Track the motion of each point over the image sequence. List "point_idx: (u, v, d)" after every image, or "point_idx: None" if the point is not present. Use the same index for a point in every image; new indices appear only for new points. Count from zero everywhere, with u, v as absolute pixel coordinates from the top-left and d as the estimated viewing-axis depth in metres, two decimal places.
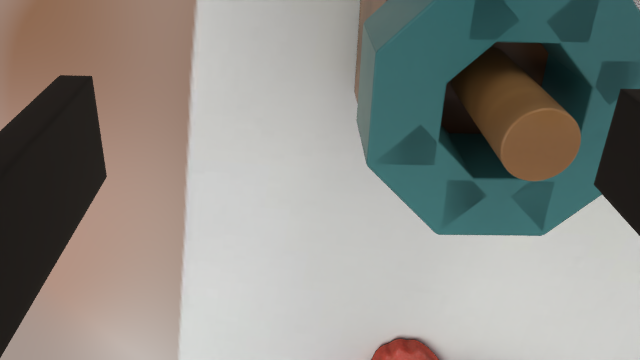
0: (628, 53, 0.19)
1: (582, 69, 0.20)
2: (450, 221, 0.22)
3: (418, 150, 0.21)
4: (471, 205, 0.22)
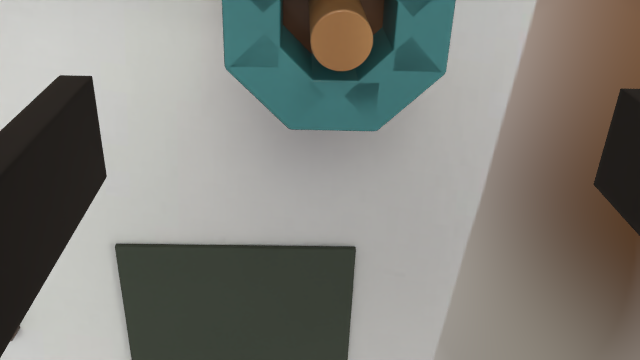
0: (383, 100, 0.27)
1: (372, 70, 0.26)
2: None
3: None
4: (253, 0, 0.25)
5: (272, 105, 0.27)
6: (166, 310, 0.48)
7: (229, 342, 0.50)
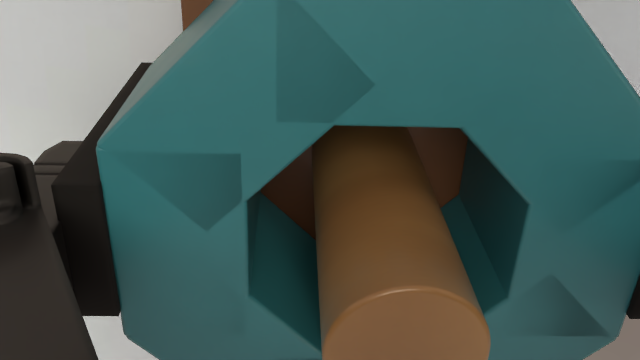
0: None
1: None
2: (135, 170, 0.10)
3: (313, 85, 0.09)
4: (181, 206, 0.10)
5: None
6: None
7: None
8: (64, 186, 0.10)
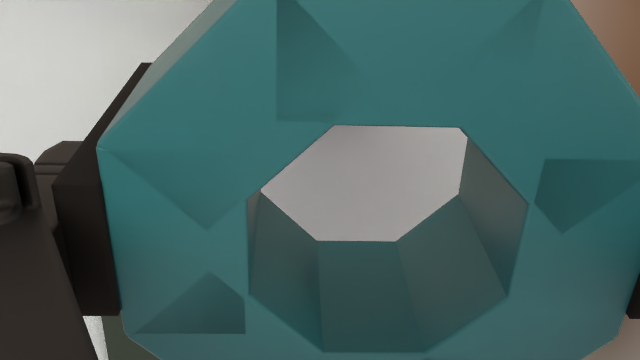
0: None
1: (458, 335, 0.12)
2: (135, 169, 0.10)
3: (313, 84, 0.09)
4: (181, 205, 0.10)
5: None
6: None
7: None
8: (64, 186, 0.10)
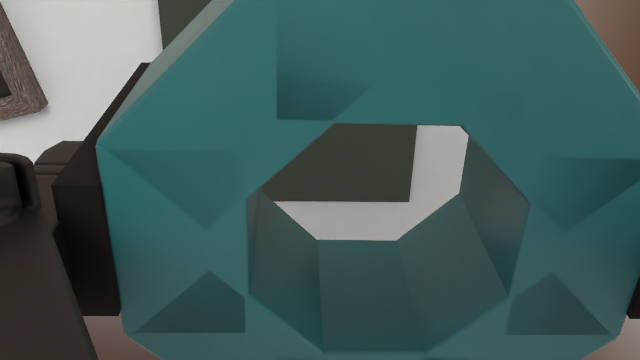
0: None
1: (458, 334, 0.12)
2: (135, 168, 0.10)
3: (313, 83, 0.09)
4: (181, 204, 0.10)
5: None
6: None
7: None
8: (64, 186, 0.10)
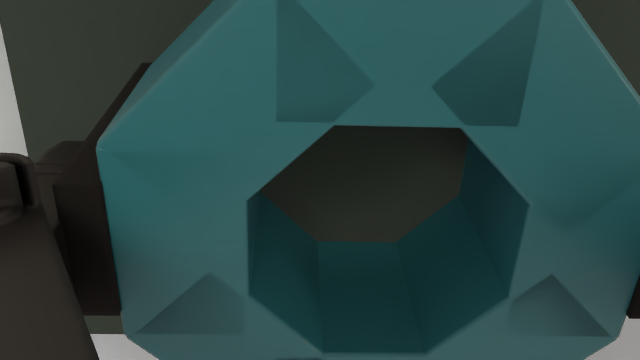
0: None
1: (458, 336, 0.12)
2: (135, 169, 0.10)
3: (314, 85, 0.09)
4: (181, 206, 0.10)
5: None
6: (135, 35, 0.15)
7: (322, 159, 0.17)
8: (65, 186, 0.10)
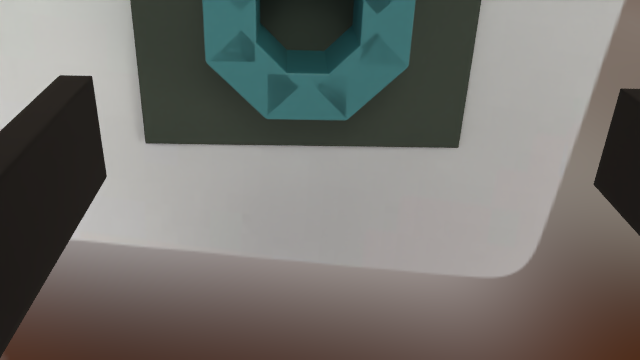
0: (352, 91, 0.29)
1: (341, 64, 0.29)
2: None
3: None
4: None
5: (250, 96, 0.29)
6: None
7: (292, 31, 0.32)
8: None
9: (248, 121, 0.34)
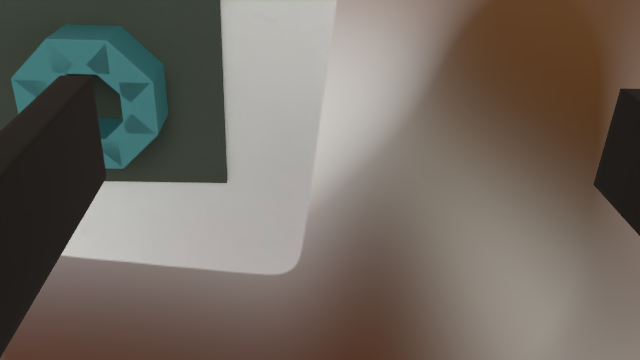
0: (123, 150, 0.44)
1: (113, 133, 0.44)
2: (20, 84, 0.42)
3: (59, 64, 0.41)
4: (32, 94, 0.42)
5: None
6: (21, 61, 0.45)
7: None
8: None
9: None
